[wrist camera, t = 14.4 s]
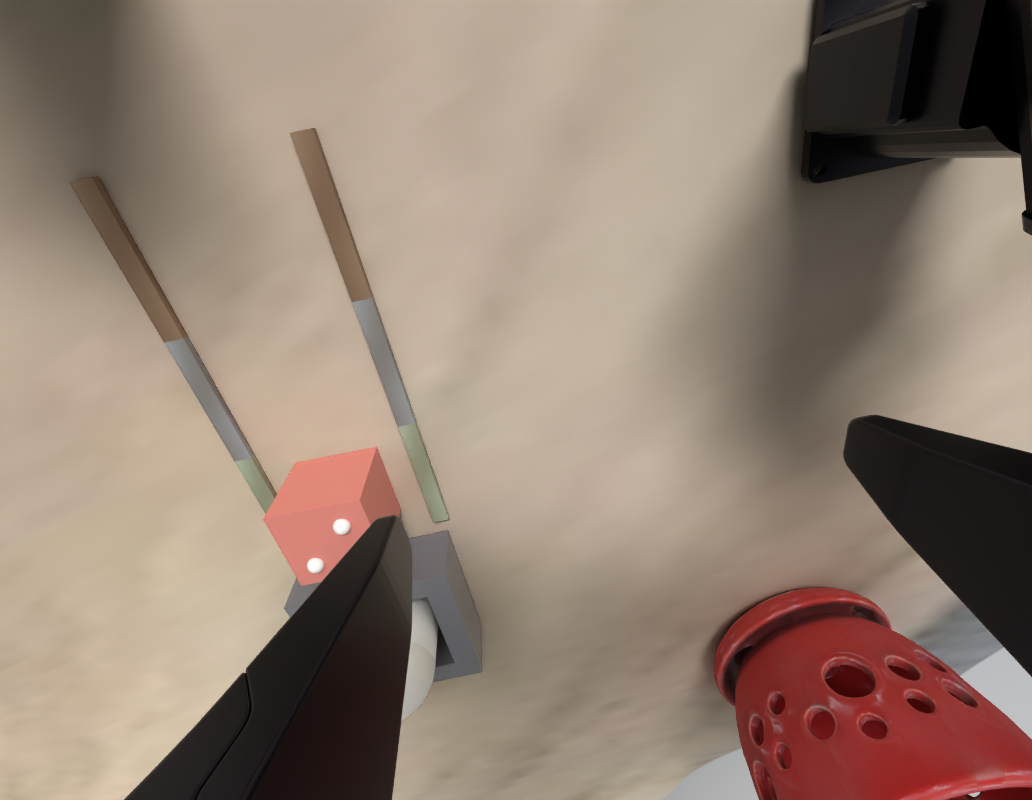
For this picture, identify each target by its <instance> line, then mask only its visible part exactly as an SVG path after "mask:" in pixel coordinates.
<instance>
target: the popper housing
mask: <svg viewBox="0 0 1032 800" xmlns="http://www.w3.org/2000/svg"><path fill="white" fill-rule="evenodd" d="M409 541H410V544H411V547H412V555H413V571H412V600H416V599H420V598H425V597H427V598H428V600H429V603H430V605H431V607H432V610H433V612H434V614H435V617H436V619H437V622H438V633H437V648H436V662H435V673H434V678H433V682H436V681H441V680H445V679H450V678H455V677H460V676H465V675H470V674H475V673H480V672H482V640H481V623H480V620H479V617H478V614H477V611H476V609H475V606H474V603H473V600H472V597H471V594H470V592H469V589H468V586H467V583H466V580H465V577H464V575H463V572H462V569H461V566H460V563H459V560H458V558H457V555H456V552H455V549H454V546H453V543H452V541H451V538H450V535H449V532H448V531H443V532H438V533H434V534H429V535H424V536H419V537H414V538H410V539H409ZM320 583H321V582H318V583H313V584H308V585H303V586H301V584H300V582H299V581H298V579H297V578H296V581H295V583H294V585H293V588H292V590H291V593H290V595H289V597H288V600H287V602H286V605H285V607H284V609H285V610H286V612H287V613H288V615H289V616H290V617H291V616H292V615H293V614H294V613H295V612H296V610H297V609H298V608H299V607H300V606H301V605H302V604H303V602H304V601H305V600H306V599H307V598H308V597H309V595H310V594H311V593H312V592H313V591H314V590H315V589H316V587H317V586H318V585H319V584H320Z"/></svg>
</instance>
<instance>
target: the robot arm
mask: <svg viewBox="0 0 1032 800" xmlns="http://www.w3.org/2000/svg"><path fill="white" fill-rule="evenodd" d="M804 127H805V136H804V147H803V158H802V169H801V174H802V178H803V180H804V181H806V182H808V183H822V182H827V181H832V180H836V179H841V178H846V177H850V176H855V175H859V174H864V173H869V172H873V171H878V170H883V169H887V168H892V167H897V166H901V165H906V164H910V163H915V162H920V161H924V160H929V159H934V158H1021V161H1022V172H1023V182H1024V192H1025V202H1026V210H1025V211H1024V212H1023V213H1022V223H1023V230H1024V231H1025V232H1026V233H1028V234H1030V235H1032V0H817V6H816V17H815V28H814V39H813V44H812V46H811V48H810V58H809V69H808V80H807V91H806V102H805V113H804ZM818 163H820V166H821V168H820V171H819V172H818V173H817V174H816V175H815V173H814V169H815V166H816V165H817V164H818ZM843 456H844V460H845V463H846V465H847V466H848V468H849V469H850V470H851V472H852V473H853V474H854V476H855V477H856V478H857V480H858V481H859V482H860V484H861V485H862V486H863V488H864V489H865V490H866V492H867V493H868V494H869V495H870V497H871V498H872V499H873V501H874V502H875V503H876V505H877V506H878V507H879V509H880V510H881V511H882V513H883V514H884V515H885V517H886V518H887V519H888V520H889V522H890V523H891V524H892V525H893V527H894V528H895V529H896V530H897V531H898V533H899V534H900V535H901V536H902V537H903V538H904V539H905V540H906V542H907V543H908V544H909V545H910V546H911V547H912V548H913V549H914V550H915V551H916V552H917V553H918V555H919V556H920V557H921V558H922V559H923V560H924V561H925V562H926V563H927V564H928V565H929V566H930V568H931V569H932V570H933V571H934V572H935V573H936V574H937V575H938V576H939V577H940V578H941V579H942V580H943V582H944V583H945V584H946V585H947V586H948V587H949V588H950V589H951V590H952V591H953V592H954V593H955V595H956V596H957V597H958V598H959V599H960V600H961V601H962V602H963V603H964V604H965V605H966V606H967V608H968V609H969V610H970V611H971V612H972V613H973V614H974V615H975V616H976V617H977V618H978V619H979V620H980V622H981V623H982V624H983V625H984V626H985V627H986V628H987V629H988V630H989V631H990V632H991V633H992V635H993V636H994V637H995V638H996V639H997V640H998V641H999V642H1000V643H1001V644H1002V645H1003V646H1004V648H1005V649H1006V650H1007V651H1008V652H1009V653H1010V654H1011V655H1012V656H1013V657H1014V658H1015V659H1016V660H1017V662H1018V663H1019V664H1020V665H1021V666H1022V667H1023V668H1024V669H1025V670H1026V671H1027V672H1028V673H1029V675H1030V676H1031V677H1032V453H1029V452H1025V451H1021V450H1017V449H1013V448H1009V447H1005V446H1001V445H997V444H993V443H989V442H984V441H980V440H976V439H972V438H968V437H964V436H960V435H956V434H952V433H948V432H944V431H940V430H936V429H932V428H928V427H924V426H920V425H916V424H911V423H907V422H903V421H899V420H895V419H891V418H887V417H883V416H879V415H869V416H864V417H859V418H855V419H853V420H851V421H850V423H849V425H848V429H847V434H846V440H845V446H844V451H843ZM412 571H413V555H412V547H411V544H410V541H409V539H408V536H407V534H406V532H405V529H404V527H403V524H402V522H401V520H400V518H399V517H398V516H397V515H390V516H385V517H380V518H377V519H376V520H375V521H374V522H373V523H372V524H371V525H370V526H369V528H368V529H367V530H366V531H365V532H364V533H363V534H362V536H361V537H360V538H359V539H358V540H357V541H356V542H355V544H354V545H353V546H352V547H351V548H350V549H349V551H348V552H347V553H346V554H345V555H344V556H343V557H342V559H341V560H340V561H339V562H338V563H337V564H336V566H335V567H334V568H333V569H332V570H331V571H330V572H329V574H328V575H327V576H326V577H325V578H324V579H323V581H322V582H321V583H320V584H319V585H318V586H317V587H316V589H315V590H314V591H313V592H312V593H311V594H310V595H309V597H308V598H307V599H306V600H305V601H304V602H303V604H302V605H301V606H300V607H299V608H298V609H297V610H296V612H295V613H294V614H293V615H292V616H291V617H290V619H289V620H288V621H287V622H286V623H285V624H284V625H283V627H282V628H281V629H280V630H279V631H278V632H277V634H276V635H275V636H274V637H273V638H272V639H271V640H270V642H269V643H268V644H267V645H266V646H265V647H264V648H263V650H262V651H261V652H260V653H259V654H258V655H257V657H256V658H255V659H254V660H253V661H252V662H251V663H250V665H249V666H248V667H247V668H246V673H242V674H241V675H240V676H239V677H238V678H237V679H236V681H235V682H234V683H233V684H232V685H231V686H230V687H229V689H228V690H227V691H226V692H225V693H224V694H223V695H222V697H221V698H220V699H219V700H218V701H217V702H216V703H215V704H214V705H213V707H212V708H211V709H210V710H209V711H208V712H207V713H206V714H205V716H204V717H203V718H202V719H201V720H200V721H199V722H198V723H197V724H196V726H195V727H194V728H193V729H192V730H191V731H190V732H189V733H188V734H187V735H186V736H185V737H184V738H183V739H182V740H181V741H180V742H179V743H178V745H177V746H176V747H175V748H174V749H173V750H172V751H171V752H170V753H169V754H168V755H167V756H166V757H165V758H164V759H163V760H162V761H161V762H160V763H159V764H158V766H157V767H156V768H155V769H154V770H153V771H152V772H151V773H150V774H149V775H148V776H147V777H146V778H145V779H144V780H143V781H142V782H141V783H140V784H139V785H138V786H137V787H136V788H135V789H134V790H133V791H132V792H131V793H130V794H129V795H128V796H127V797H126V798H125V799H124V800H392V794H393V786H394V777H395V769H396V761H397V752H398V744H399V736H400V727H401V719H402V711H403V702H404V694H405V686H406V677H407V669H408V661H409V652H410V644H411V634H412Z"/></svg>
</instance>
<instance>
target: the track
mask: <svg viewBox="0 0 1032 800" xmlns="http://www.w3.org/2000/svg"><path fill="white" fill-rule="evenodd" d="M290 135H291V138H292V140H293V143H294V146H295V148H296V151H297V154H298V157H299V159H300V162H301V165H302V167H303V170H304V173H305V176H306V178H307V181H308V184H309V186H310V189H311V192H312V195H313V197H314V200H315V203H316V205H317V208H318V211H319V214H320V216H321V219H322V222H323V224H324V227H325V230H326V233H327V235H328V238H329V241H330V243H331V246H332V249H333V251H334V254H335V257H336V260H337V262H338V265H339V268H340V270H341V273H342V276H343V279H344V281H345V284H346V287H347V289H348V292H349V295H350V298H351V300H352V303H353V306H354V308H355V311H356V314H357V317H358V319H359V322H360V325H361V327H362V330H363V333H364V336H365V338H366V341H367V344H368V346H369V349H370V352H371V355H372V357H373V360H374V363H375V365H376V368H377V371H378V374H379V376H380V379H381V382H382V384H383V387H384V390H385V392H386V395H387V398H388V401H389V403H390V406H391V409H392V411H393V414H394V417H395V420H396V422H397V425H398V428H399V430H400V433H401V436H402V439H403V441H404V444H405V447H406V449H407V452H408V455H409V458H410V460H411V463H412V466H413V468H414V471H415V474H416V477H417V479H418V482H419V485H420V487H421V490H422V493H423V496H424V498H425V501H426V504H427V506H428V509H429V512H430V514H431V517H432V520H433V523H434V522H439V521H443V520H448V518H449V515H448V512H447V509H446V506H445V504H444V501H443V498H442V495H441V492H440V489H439V486H438V483H437V480H436V477H435V475H434V472H433V469H432V466H431V463H430V460H429V457H428V454H427V451H426V448H425V446H424V443H423V440H422V437H421V434H420V431H419V428H418V425H417V422H416V419H415V417H414V414H413V411H412V408H411V405H410V402H409V399H408V396H407V393H406V390H405V388H404V385H403V382H402V379H401V376H400V373H399V370H398V367H397V364H396V361H395V358H394V356H393V353H392V350H391V347H390V344H389V341H388V338H387V335H386V332H385V329H384V327H383V324H382V321H381V318H380V315H379V312H378V309H377V306H376V303H375V300H374V298H373V295H372V292H371V289H370V286H369V283H368V280H367V277H366V274H365V271H364V269H363V266H362V263H361V260H360V257H359V254H358V251H357V248H356V245H355V242H354V240H353V237H352V234H351V231H350V228H349V225H348V222H347V219H346V216H345V213H344V211H343V208H342V205H341V202H340V199H339V196H338V193H337V190H336V187H335V184H334V182H333V179H332V176H331V173H330V170H329V167H328V164H327V161H326V158H325V155H324V153H323V150H322V147H321V144H320V141H319V138H318V135H317V132H316V129H315V128H311V129H306V130H302V131H297V132H293V133H290ZM69 183H70V184H71V186H72V188H73V189H74V191H75V193H76V195H77V196H78V198H79V200H80V201H81V203H82V205H83V206H84V208H85V210H86V211H87V213H88V215H89V217H90V218H91V220H92V222H93V223H94V225H95V227H96V228H97V230H98V232H99V233H100V235H101V237H102V238H103V240H104V242H105V244H106V245H107V247H108V249H109V250H110V252H111V254H112V255H113V257H114V259H115V260H116V262H117V264H118V265H119V267H120V269H121V271H122V272H123V274H124V276H125V277H126V279H127V281H128V282H129V284H130V286H131V287H132V289H133V291H134V292H135V294H136V296H137V298H138V299H139V301H140V303H141V304H142V306H143V308H144V309H145V311H146V313H147V314H148V316H149V318H150V319H151V321H152V323H153V325H154V326H155V328H156V330H157V331H158V333H159V335H160V336H161V338H162V340H163V341H164V343H165V345H166V346H167V348H168V350H169V352H170V353H171V355H172V357H173V358H174V360H175V362H176V363H177V365H178V367H179V368H180V370H181V372H182V373H183V375H184V377H185V379H186V380H187V382H188V384H189V385H190V387H191V389H192V390H193V392H194V394H195V395H196V397H197V399H198V400H199V402H200V404H201V406H202V407H203V409H204V411H205V412H206V414H207V416H208V417H209V419H210V421H211V422H212V424H213V426H214V427H215V429H216V431H217V433H218V434H219V436H220V438H221V439H222V441H223V443H224V444H225V446H226V448H227V449H228V451H229V453H230V454H231V456H232V458H233V460H234V461H235V463H236V465H237V466H238V468H239V470H240V471H241V473H242V475H243V476H244V478H245V480H246V481H247V483H248V485H249V487H250V488H251V490H252V492H253V493H254V495H255V497H256V498H257V500H258V502H259V503H260V505H261V507H262V509H263V510H264V512H265V514H266V513H267V511H268V509H269V508H270V506H271V504H272V502H273V501H274V499H275V497H276V495H277V494H276V492H275V491H274V489H273V487H272V485H271V484H270V482H269V480H268V478H267V476H266V475H265V473H264V471H263V469H262V468H261V466H260V464H259V462H258V460H257V459H256V457H255V455H254V453H253V452H252V450H251V448H250V446H249V444H248V443H247V441H246V439H245V437H244V436H243V434H242V432H241V430H240V429H239V427H238V425H237V423H236V421H235V420H234V418H233V416H232V414H231V413H230V411H229V409H228V407H227V405H226V404H225V402H224V400H223V398H222V397H221V395H220V393H219V391H218V389H217V388H216V386H215V384H214V382H213V381H212V379H211V377H210V375H209V373H208V372H207V370H206V368H205V366H204V365H203V363H202V361H201V359H200V357H199V356H198V354H197V352H196V350H195V349H194V347H193V345H192V343H191V341H190V340H189V338H188V336H187V334H186V333H185V331H184V329H183V327H182V325H181V324H180V322H179V320H178V318H177V317H176V315H175V313H174V311H173V309H172V308H171V306H170V304H169V302H168V301H167V299H166V297H165V295H164V293H163V292H162V290H161V288H160V286H159V285H158V283H157V281H156V279H155V277H154V276H153V274H152V272H151V270H150V269H149V267H148V265H147V263H146V261H145V260H144V258H143V256H142V254H141V253H140V251H139V249H138V247H137V245H136V244H135V242H134V240H133V238H132V237H131V235H130V233H129V231H128V229H127V228H126V226H125V224H124V222H123V221H122V219H121V217H120V215H119V213H118V212H117V210H116V208H115V206H114V205H113V203H112V201H111V199H110V197H109V196H108V194H107V192H106V190H105V189H104V187H103V185H102V183H101V182H100V180H99V178H98V177H88V178H84V179H79V180H75V181H70V182H69Z"/></svg>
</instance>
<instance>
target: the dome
mask: <svg viewBox="0 0 1032 800" xmlns="http://www.w3.org/2000/svg"><path fill="white" fill-rule="evenodd" d="M437 633H438V622H437V619H436V617H435V614H434V612H433V610H432V607H431V605H430V603H429V600H428V598H427V597H425V598H420V599H416V600H412V634H411V644H410V652H409V661H408V669H407V677H406V686H405V694H404V702H403V711H402V719H401V721H402V720H404V719H406V718H407V717H409V716H410V715H411V714H412V713H413V712H414V711H415V710H417V709H418V707H419V706H420V705H421V704H422V702H423V701H424V699H425V698H426V696H427V694H428V692H429V690H430V688H431V685H432V682H433V678H434V673H435V662H436V648H437Z"/></svg>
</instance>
